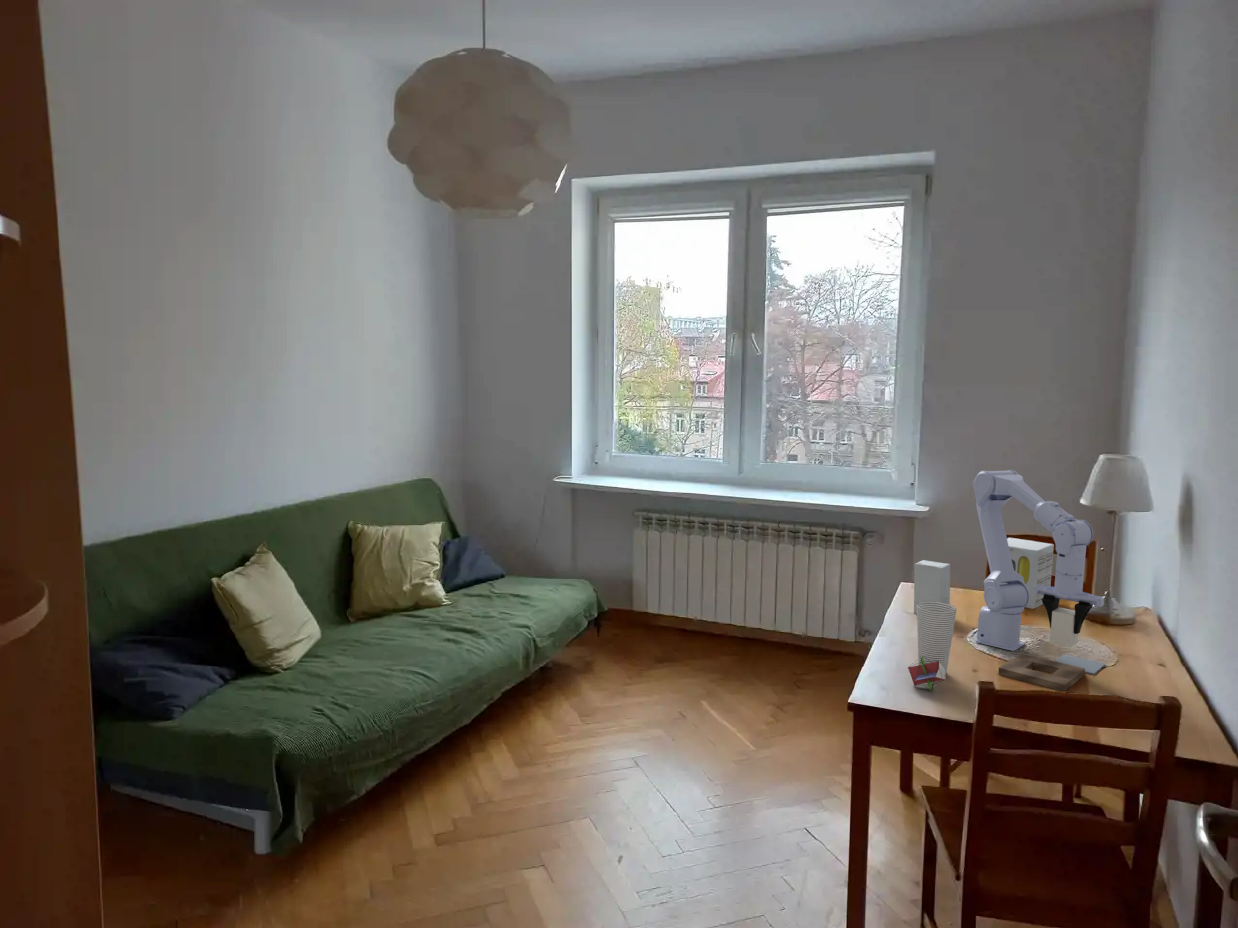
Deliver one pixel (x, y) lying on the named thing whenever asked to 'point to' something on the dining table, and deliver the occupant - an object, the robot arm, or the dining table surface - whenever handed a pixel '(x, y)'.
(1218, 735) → the dining table surface
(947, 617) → the cup
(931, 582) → the skincare box
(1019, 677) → the pocket board
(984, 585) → the robot arm
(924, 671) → the geometric puzzle
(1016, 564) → the supplement box
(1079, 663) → the slate mat
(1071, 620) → the cream block
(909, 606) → the dining table surface
